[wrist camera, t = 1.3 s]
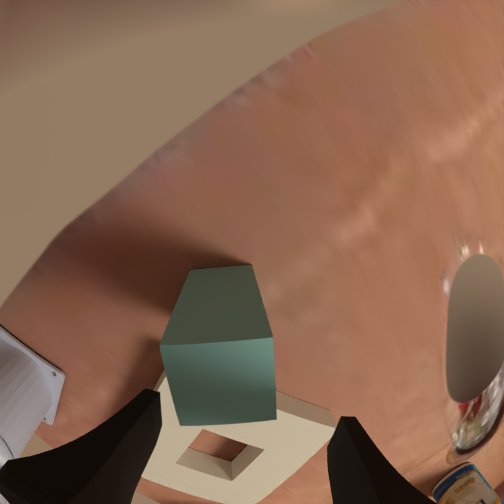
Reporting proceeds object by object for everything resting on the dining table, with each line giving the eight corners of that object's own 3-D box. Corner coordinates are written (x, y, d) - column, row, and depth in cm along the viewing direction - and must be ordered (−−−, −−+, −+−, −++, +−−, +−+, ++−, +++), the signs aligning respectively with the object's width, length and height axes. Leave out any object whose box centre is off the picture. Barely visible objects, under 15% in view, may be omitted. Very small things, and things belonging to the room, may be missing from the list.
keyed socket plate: (120, 447, 23) (114, 465, 21) (177, 346, 21) (172, 364, 19) (247, 491, 26) (249, 509, 23) (330, 410, 23) (338, 429, 21)
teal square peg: (197, 325, 21) (179, 426, 11) (190, 269, 20) (159, 345, 10) (255, 320, 21) (276, 419, 11) (251, 264, 20) (273, 337, 10)
